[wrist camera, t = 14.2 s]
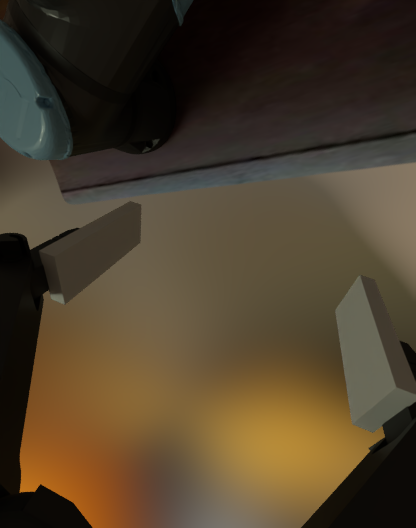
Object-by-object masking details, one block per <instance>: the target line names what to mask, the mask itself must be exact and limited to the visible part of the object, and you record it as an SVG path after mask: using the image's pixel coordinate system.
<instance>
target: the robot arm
mask: <svg viewBox="0 0 416 528" xmlns="http://www.w3.org/2000/svg"><path fill="white" fill-rule="evenodd" d="M192 2H193V0H9V2H8V6H7V10H6V14H5V17H4V19H3V20H2V21H1V20H0V137H1V138H2V139H3V140H4V141H5V142H6V143H7V144H8V145H9V146H10V147H12V148H13V149H14V150H16V151H17V152H19V153H20V154H22V155H24V156H27V157H29V158H34V159H37V160H54V159H58V160H63V159H67V158H69V157H71V156H76V155H81V154H86V153H91V152H96V151H101V150H106V149H111V148H114V149H117V150H120V151H123V152H126V153H130V154H144V153H148V152H152V151H154V150H156V149H158V148H159V147H161V146H162V145H163V144H164V143H165V142H166V140H167V139H168V137H169V136H170V134H171V132H172V129H173V126H174V122H175V116H176V100H175V94H174V89H173V86H172V83H171V80H170V78H169V76H168V74H167V72H166V70H165V68H164V67H163V65H162V64H161V63H160V62H159V60H158V59H157V57H158V55H159V54H160V52H161V51H162V49H163V48H164V46H165V45H166V43H167V42H168V40H169V39H170V37H171V36H172V34H173V33H174V31H175V30H176V28H177V27H178V25H179V26H181V25H182V24H183V17H184V15H185V14H186V12H187V10H188V9H189V7H190V5H191V4H192ZM140 233H141V205H140V204H137V203H134V202H131V201H130V202H128V203H126V204H124V205H123V206H121V207H119V208H117V209H115V210H113V211H111V212H110V213H108V214H106V215H104V216H102V217H100V218H99V219H97V220H95V221H93V222H91V223H89V224H87V225H86V226H84V227H82V228H75V229H71V230H68V231H65V232H64V233H62V234H60V235H59V236H56V237H54V238H52V240H48V241H46V242H44V243H42V244H41V245H39V246H37V247H35V248H33V249H31V250H30V249H29V245H28V241H27V238H26V237H25V236H24V235H22V234H18V233H5V234H0V528H92V526H91V525H90V524H89V523H88V521H87V520H86V519H85V517H84V516H83V515H82V514H81V512H80V511H79V510H78V509H77V507H76V506H75V505H74V503H72V502H71V501H69V500H67V499H65V498H64V497H62V496H60V495H58V494H57V493H55V492H53V491H51V490H50V489H48V488H46V487H44V486H42V485H40V486H39V487H38V488H37V490H36V491H35V492H21V493H19V492H20V483H21V468H20V447H21V441H22V435H23V428H24V422H25V416H26V408H27V403H28V397H29V390H30V384H31V377H32V371H33V365H34V359H35V352H36V346H37V338H38V333H39V326H40V320H41V314H42V308H43V301H44V299H43V295H42V294H44V293H45V292H46V291H48V290H49V292H50V296H51V299H53V300H55V301H58V302H60V303H62V304H66V303H68V302H69V301H70V300H71V299H72V298H73V297H75V296H76V295H77V294H78V293H80V292H81V291H82V290H83V289H85V288H86V287H87V286H88V285H89V284H91V283H92V282H93V281H94V280H95V279H97V278H98V277H99V276H100V275H101V274H103V273H104V272H105V271H106V270H108V269H109V268H110V267H111V266H112V265H114V264H115V263H116V262H117V261H118V260H120V259H121V258H122V257H123V256H125V255H126V254H127V253H128V252H129V251H131V250H132V249H133V248H134V247H135V246H137V245H138V244H139V243H140V235H141V234H140ZM335 312H336V318H337V326H338V332H339V339H340V346H341V352H342V359H343V366H344V373H345V379H346V386H347V392H348V399H349V406H350V413H351V420H352V424H353V425H356V426H358V427H360V428H363V429H365V430H368V431H370V432H372V433H373V432H375V431H376V430H377V429H379V428H380V427H381V426H383V430H384V434H385V438H383V439H382V440H380V441H379V442H377V443H376V444H374V445H373V446H371V447H370V448H369V450H370V452H369V453H368V454H367V455H366V457H365V458H364V459H363V460H362V461H361V462H360V463H359V464H358V465H357V467H356V468H355V469H354V470H353V471H352V472H351V473H350V474H349V475H348V477H347V478H346V479H345V480H344V481H343V482H342V483H341V484H340V485H339V486H338V488H337V489H336V490H335V491H334V492H333V493H332V494H331V495H330V496H329V497H328V499H327V500H326V501H325V502H324V503H323V504H322V505H321V506H320V507H319V509H318V510H317V511H316V512H315V513H314V514H313V515H312V516H311V518H310V519H309V520H308V521H307V522H306V523H305V524H304V525H303V526H302V527H301V528H416V353H415V352H414V351H413V350H412V348H411V347H410V346H409V345H408V344H407V343H405V342H401V341H399V339H398V337H397V334H396V332H395V329H394V327H393V324H392V322H391V319H390V317H389V314H388V312H387V309H386V307H385V304H384V302H383V299H382V297H381V295H380V292H379V289H378V287H377V284H376V282H375V280H374V279H371V278H368V277H365V276H362V275H359V277H358V278H357V280H356V281H355V282H354V284H353V285H352V287H351V288H350V290H349V291H348V292H347V294H346V295H345V297H344V298H343V300H342V301H341V303H340V304H339V306H338V307H337V309H336V310H335Z"/></svg>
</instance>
